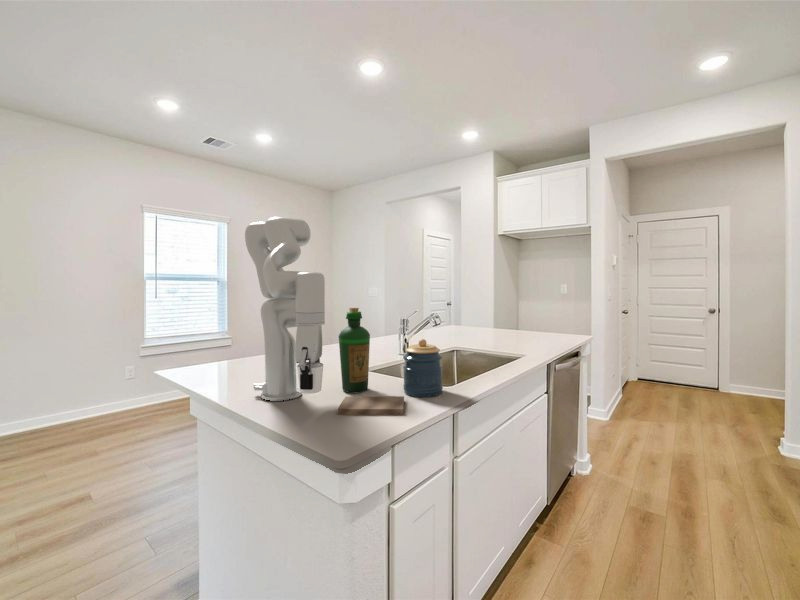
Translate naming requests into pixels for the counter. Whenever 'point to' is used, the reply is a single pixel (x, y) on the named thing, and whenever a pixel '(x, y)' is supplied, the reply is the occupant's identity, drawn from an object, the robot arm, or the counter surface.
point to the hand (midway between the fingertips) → (310, 384)
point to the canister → (422, 370)
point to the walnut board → (372, 405)
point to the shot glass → (317, 378)
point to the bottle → (354, 354)
